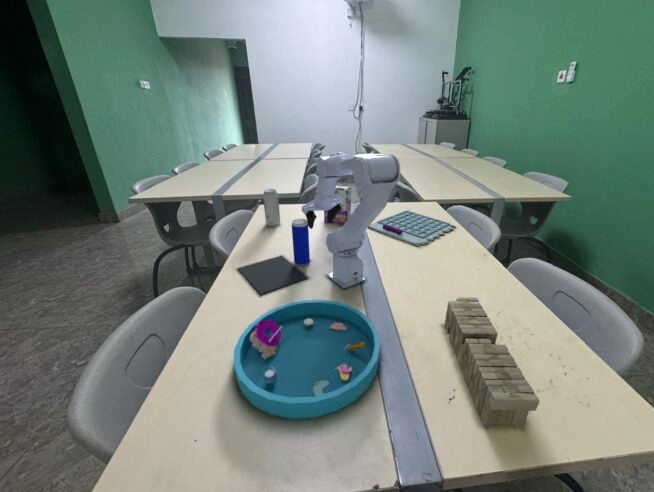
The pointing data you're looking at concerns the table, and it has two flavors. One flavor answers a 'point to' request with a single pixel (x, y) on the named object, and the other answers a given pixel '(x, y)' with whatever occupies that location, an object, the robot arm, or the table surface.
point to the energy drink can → (271, 207)
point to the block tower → (487, 366)
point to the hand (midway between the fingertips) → (319, 223)
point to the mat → (272, 274)
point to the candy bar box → (346, 206)
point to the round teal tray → (307, 358)
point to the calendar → (412, 227)
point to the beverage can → (300, 242)
